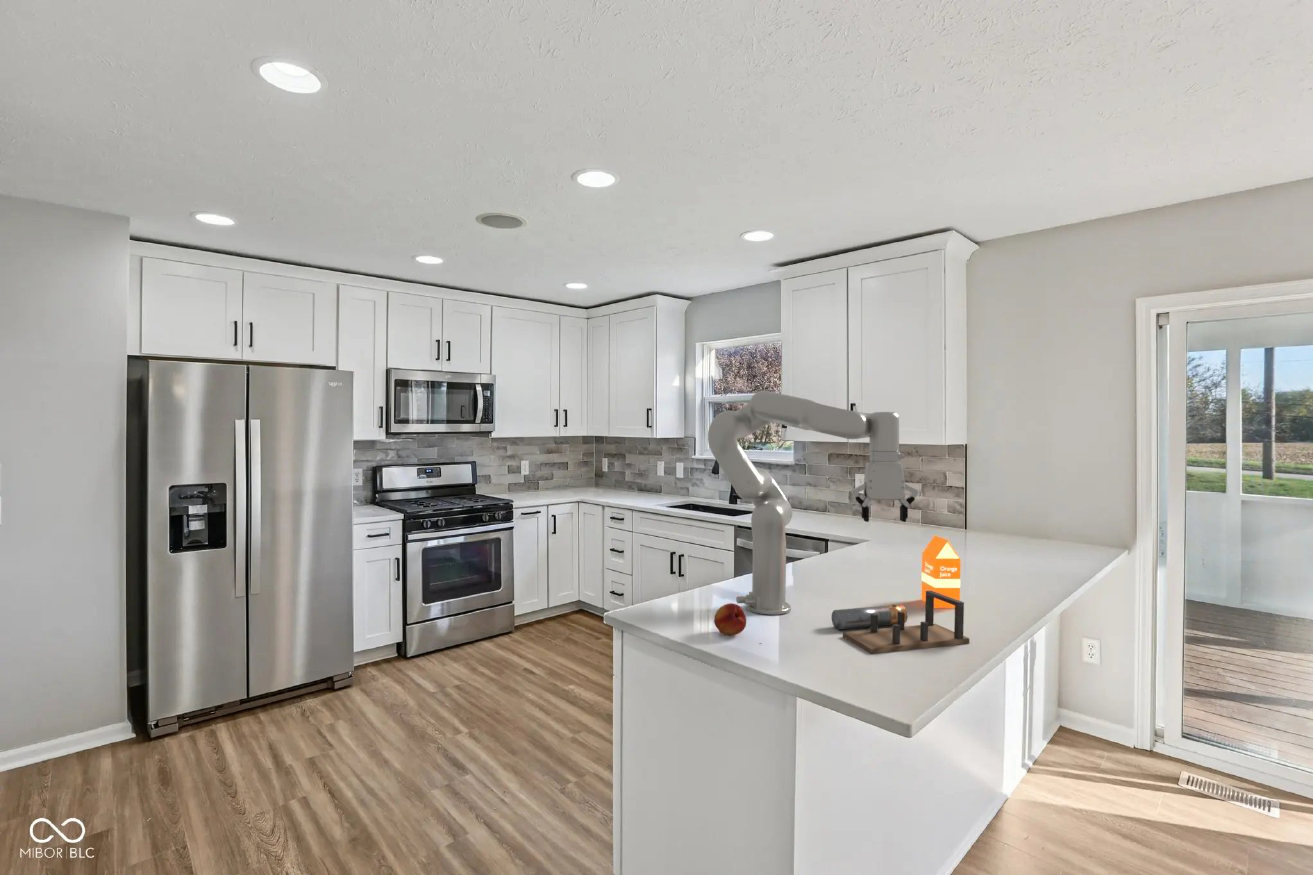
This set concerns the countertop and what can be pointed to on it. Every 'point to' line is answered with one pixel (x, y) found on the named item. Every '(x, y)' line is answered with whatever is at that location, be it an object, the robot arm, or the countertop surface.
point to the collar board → (912, 631)
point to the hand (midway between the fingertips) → (884, 521)
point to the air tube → (866, 616)
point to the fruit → (730, 619)
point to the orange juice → (941, 571)
